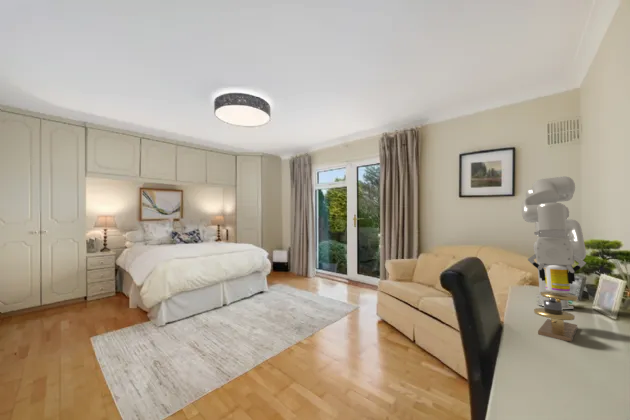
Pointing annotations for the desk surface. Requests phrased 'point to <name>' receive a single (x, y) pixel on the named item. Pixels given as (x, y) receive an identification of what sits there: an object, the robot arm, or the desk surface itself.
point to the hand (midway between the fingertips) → (556, 281)
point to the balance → (556, 317)
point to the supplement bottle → (556, 278)
